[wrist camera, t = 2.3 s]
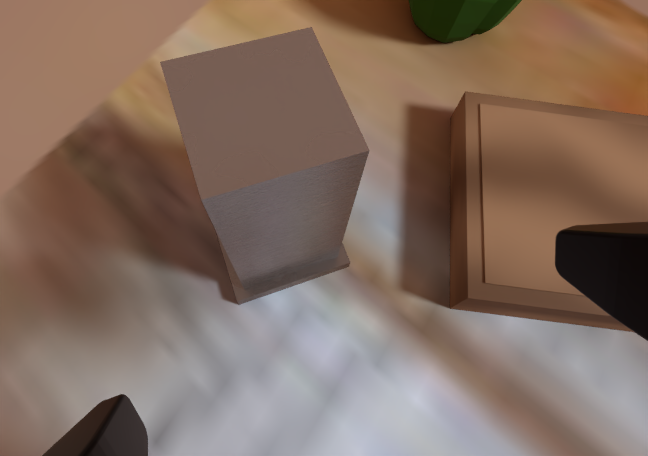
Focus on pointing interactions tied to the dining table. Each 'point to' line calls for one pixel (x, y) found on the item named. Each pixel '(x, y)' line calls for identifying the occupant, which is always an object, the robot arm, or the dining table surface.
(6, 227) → the dining table surface
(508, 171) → the stand
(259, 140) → the plate
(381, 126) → the dining table surface
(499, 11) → the bell pepper
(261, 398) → the dining table surface
